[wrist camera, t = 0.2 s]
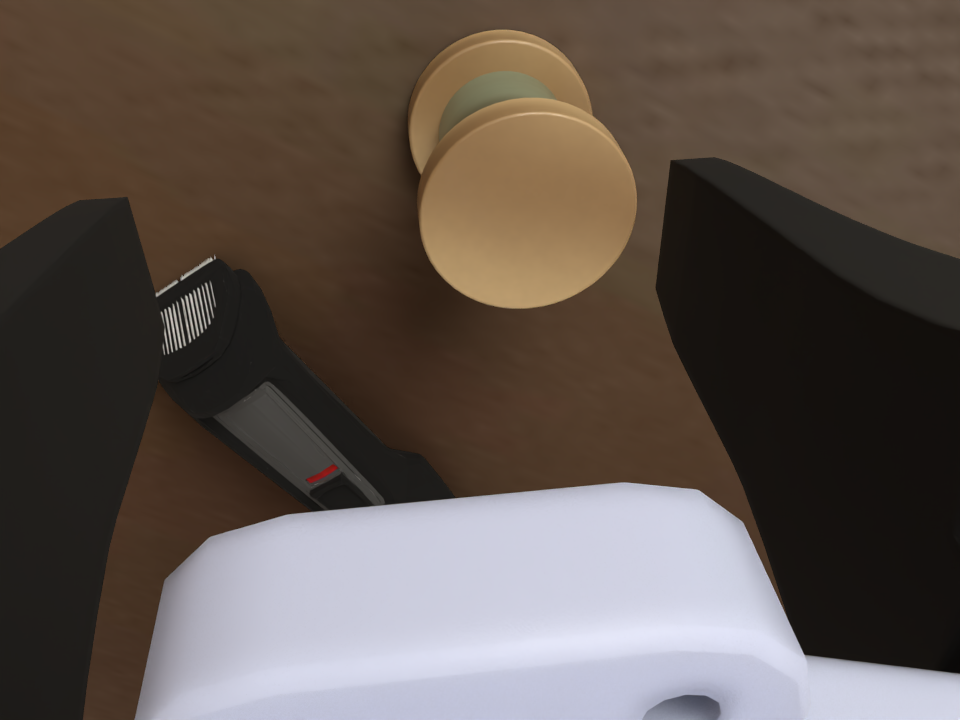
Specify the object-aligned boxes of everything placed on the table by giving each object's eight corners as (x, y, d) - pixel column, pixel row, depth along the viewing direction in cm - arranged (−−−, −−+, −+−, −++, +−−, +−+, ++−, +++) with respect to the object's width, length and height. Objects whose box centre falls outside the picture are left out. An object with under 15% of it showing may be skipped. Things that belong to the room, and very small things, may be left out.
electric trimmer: (441, 591, 33) (449, 668, 30) (124, 312, 24) (99, 387, 21) (529, 548, 32) (544, 622, 29) (234, 240, 23) (220, 310, 20)
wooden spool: (581, 195, 23) (628, 301, 19) (413, 207, 23) (425, 318, 19) (591, 23, 20) (647, 105, 17) (400, 34, 20) (411, 120, 16)
